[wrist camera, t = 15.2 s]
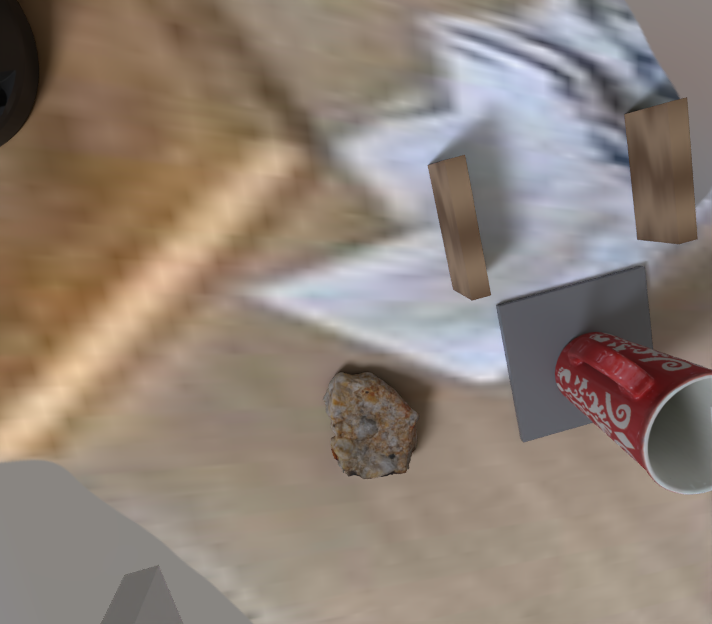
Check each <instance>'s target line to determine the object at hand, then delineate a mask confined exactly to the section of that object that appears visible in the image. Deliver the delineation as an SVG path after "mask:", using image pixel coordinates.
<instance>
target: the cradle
mask: <svg viewBox="0 0 712 624" xmlns="http://www.w3.org/2000/svg"><path fill="white" fill-rule="evenodd" d="M624 115H625V125H626V135H627V144H628V154H629V163H630V173H631V182H632V192H633V202H634V211H635V221H636V230H637V240H645V241H654V242H664V243H673V244H682V243H685V242H689V241H693V240H696V239H697V225H696V212H695V198H694V185H693V171H692V157H691V144H690V130H689V117H688V103H687V98H683V99H679V100H675V101H671V102H667V103H664V104H660V105H656V106H653V107H649V108H646V109H642V110H639V111H635V112H631V113H628V114H624ZM428 169H429V174H430V179H431V184H432V189H433V193H434V198H435V203H436V208H437V213H438V218H439V223H440V228H441V233H442V237H443V242H444V247H445V252H446V257H447V262H448V267H449V272H450V276H451V281H452V286H453V290H455V291H457V292H458V293H460V294H462V295H463V296H465V297H467V298H469V299H470V300H476V299H479V298H483V297H487V296H490V295H491V292H490V287H489V282H488V276H487V271H486V265H485V260H484V255H483V249H482V244H481V238H480V233H479V228H478V222H477V217H476V211H475V206H474V201H473V195H472V190H471V184H470V179H469V174H468V168H467V163H466V157H465V155H462V156H458V157H455V158H451V159H447V160H443V161H440V162H437V163H434V164H431V165H428Z"/></svg>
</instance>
